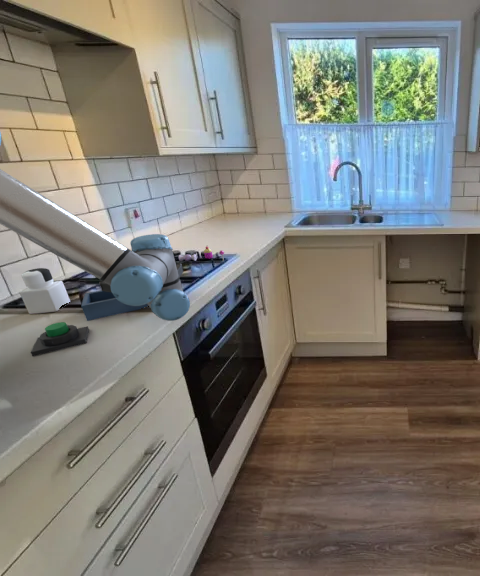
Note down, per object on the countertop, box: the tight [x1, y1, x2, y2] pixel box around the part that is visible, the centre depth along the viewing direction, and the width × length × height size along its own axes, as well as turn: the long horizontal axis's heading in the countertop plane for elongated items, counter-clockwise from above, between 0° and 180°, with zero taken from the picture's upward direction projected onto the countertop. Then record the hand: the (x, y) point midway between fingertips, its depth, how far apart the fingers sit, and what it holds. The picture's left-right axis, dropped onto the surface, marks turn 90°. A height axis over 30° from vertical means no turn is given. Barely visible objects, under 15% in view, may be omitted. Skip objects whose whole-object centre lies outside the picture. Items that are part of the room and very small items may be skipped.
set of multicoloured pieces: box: [178, 246, 225, 263], centre depth 145 cm, size 18×8×6 cm, turn 98°
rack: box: [81, 289, 148, 322], centre depth 107 cm, size 20×10×5 cm, turn 123°
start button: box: [44, 321, 69, 337], centre depth 87 cm, size 4×4×2 cm
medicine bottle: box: [18, 267, 71, 315], centre depth 105 cm, size 7×7×12 cm
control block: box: [30, 324, 90, 357], centre depth 88 cm, size 10×8×3 cm
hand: (137, 269), depth 107 cm, fingers open, 13 cm apart
